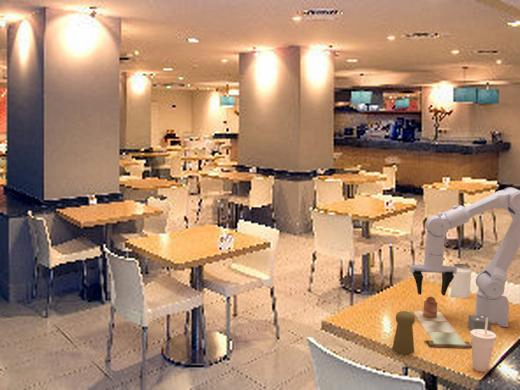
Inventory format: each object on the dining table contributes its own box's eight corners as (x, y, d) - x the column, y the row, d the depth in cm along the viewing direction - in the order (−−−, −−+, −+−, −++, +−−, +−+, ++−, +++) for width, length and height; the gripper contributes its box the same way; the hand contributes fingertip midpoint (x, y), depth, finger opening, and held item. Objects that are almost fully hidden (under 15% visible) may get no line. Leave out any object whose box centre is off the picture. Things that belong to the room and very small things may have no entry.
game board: (444, 314, 184) (444, 311, 184) (471, 348, 158) (472, 345, 158) (407, 313, 185) (408, 310, 185) (429, 347, 158) (429, 343, 158)
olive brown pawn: (415, 355, 152) (417, 317, 151) (392, 353, 154) (394, 315, 152) (413, 346, 158) (415, 309, 157) (391, 344, 159) (394, 307, 158)
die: (483, 331, 171) (485, 315, 171) (490, 337, 166) (491, 321, 166) (467, 330, 171) (468, 314, 171) (473, 336, 166) (474, 320, 166)
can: (471, 300, 199) (474, 268, 197) (453, 300, 199) (456, 268, 197) (465, 294, 205) (467, 263, 204) (447, 294, 206) (450, 263, 204)
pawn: (434, 313, 182) (435, 294, 181) (438, 318, 178) (439, 299, 177) (421, 313, 182) (422, 294, 181) (424, 318, 178) (426, 298, 177)
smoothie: (491, 376, 141) (495, 324, 139) (465, 369, 144) (469, 318, 142) (495, 367, 146) (499, 316, 144) (470, 360, 150) (474, 311, 148)
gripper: (453, 250, 181) (450, 290, 183) (408, 249, 181) (405, 289, 183) (460, 256, 174) (456, 297, 176) (413, 254, 174) (410, 296, 176)
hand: (431, 294), depth 179 cm, fingers open, 7 cm apart
